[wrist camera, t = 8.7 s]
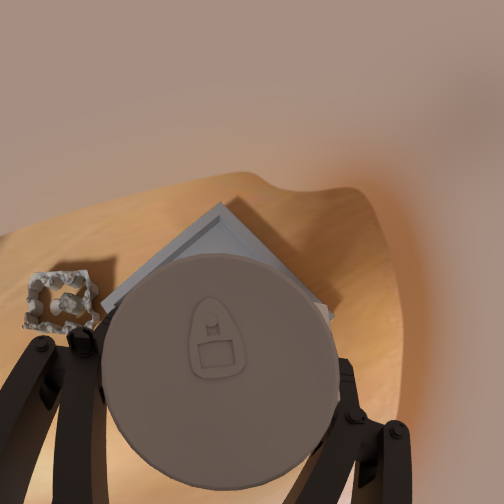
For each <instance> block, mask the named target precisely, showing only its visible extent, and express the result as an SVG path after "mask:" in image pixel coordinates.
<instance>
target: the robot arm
mask: <svg viewBox="0 0 504 504" xmlns="http://www.w3.org/2000/svg"><path fill="white" fill-rule="evenodd" d="M314 303H315V305H316V306H317V307H318V309H319V310H320V311H321V313H322V315H323V317H324V319H325V321H326V323H327V325H328V327H329V329H330V331H331V326H330V320H329V314H328V308H327V305H326V304H321V303H316V302H314ZM118 308H119V306H117V307H116V308H114V309H112V310H111V311H110V312H109V313H108V314H107V316H106V318H104V319H103V320H102V322H101V323H100V324H99V325H98V327H97V328H96V329H95V330H94V331H93V330H91V329H90V328H87V327H77V328H74V329H72V330H71V331H69V332H68V334H67V336H66V337H67V340H68V344H69V347H64V346H57V345H56V344H55V341H54V340H53V339H52V338H51V337H49V336H45V335H42V336H38V337H36V338H34V339H33V340H32V341H31V342H30V343H29V345H28V346H27V348H26V349H25V351H24V352H23V354H22V356H21V357H20V359H19V360H18V362H17V363H16V365H15V366H14V368H13V370H12V371H11V373H10V375H9V376H8V378H7V380H6V381H5V383H4V385H3V386H2V388H1V390H0V504H23V503H24V499H25V496H26V492H27V489H28V486H29V483H30V480H31V476H32V473H33V470H34V468H35V465H36V462H37V459H38V456H39V454H40V451H41V448H42V445H43V443H44V440H45V438H46V435H47V433H48V430H49V428H50V425H51V423H52V420H53V418H54V416H55V413H56V411H57V409H58V406H59V404H60V406H59V413H58V421H57V429H56V438H55V449H54V464H53V500H52V504H109V497H108V484H107V463H106V414H107V402H106V398H105V394H104V390H103V385H102V366H101V361H102V354H103V347H104V341H105V337H106V334H107V331H108V329H109V326H110V323H111V320H112V318H113V316H114V314H115V313H116V311H117V309H118ZM338 362H339V374H340V383H339V391H338V399H337V404H336V408H335V411H334V414H333V416H332V419H331V422H330V425H329V427H328V429H327V430H326V432H325V434H324V435H323V437H322V439H321V440H320V442H319V444H318V445H317V446H316V448H315V449H314V450H313V451H312V452H311V454H310V456H309V458H308V460H307V462H306V464H305V466H304V467H303V469H302V471H301V473H300V475H299V476H298V478H297V480H296V482H295V483H294V485H293V487H292V489H291V490H290V492H289V494H288V495H287V497H286V499H285V500H284V502H283V503H282V504H337V502H338V500H339V498H340V496H341V493H342V491H343V489H344V486H345V484H346V482H347V479H348V477H349V474H350V472H351V469H352V467H353V464H354V461H355V471H354V481H353V490H352V498H351V504H412V464H411V446H410V433H409V430H408V428H407V426H406V425H405V424H404V423H402V422H400V421H397V420H391V421H389V422H387V423H386V424H385V425H383V424H381V423H378V422H375V421H372V420H370V419H368V417H367V415H366V413H365V412H364V411H363V410H362V409H361V408H360V406H359V400H358V394H357V388H356V383H355V377H354V371H353V367H352V365H351V364H350V362H349V361H348V359H344V358H338Z"/></svg>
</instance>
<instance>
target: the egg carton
mask: <svg viewBox="0 0 504 504" xmlns="http://www.w3.org/2000/svg"><path fill="white" fill-rule="evenodd" d="M85 279H86V287H87V288H88V289H87V290H85V295H84V297H83V298H82V299H81V298H80V297H78V296H76V295H74V294H72V293H64V294H63V295H62V296H61V298H60V300H58V299H54V300H53V301H52V302H51V304H50V312H51V314H52V315H53V316H58V315H60V314H61V313H62V311H65V312H68V313H71V314H74V315H79V314H81V313H82V312H83V310H84V306H85V308H86V309H88V313H90V314H92V320H90V321H87V322H86V324H85V325H84V327H87V328H90V329H91V330H93V327H94V325H95V324H96V323H98V322H100V314H99V313H96V312H94V311H93V309H92V307H91V303H92V300H93V298H94V297H95V296H97V295H99V286H97V285H95V284H94V283H92V281H91V278H90V277H89V276H88V272H87V270H77V271H52V272H37V273H34V274H33V275H32V276H31V278H30V279H29V285H28V288H27V289H28V297H27V302H28V303H29V312H27V313H25V316H24V322H25V323H24V326H23V325H22V328H23V329H31V330H36V331H37V332H39V333H50V332H51V333H58V334H68V332H69V331H71V330H72V329H74V328H77V327H83V326H82V325H81V324H78V323H75V322H72V321H68V320H66V321H65V325H64V326H63V327H61V326H60V325H57V324H54V323H50V322H45V321H43V322H42V323H40V324H38V317H40V316H42V314H43V312H44V305H43V303H42V302H41V301H40V300H38V295H39V292H41V291H42V290H43V288H44V286H46V287H48V288H50V289H52V290H55V291H58V290H59V289H60V288H61V287H62V285H63V283H64V284H67V285H69V286H71V287H73V288H75V289H77V288H80V287H81V286H82V285H83V283H84V280H85Z"/></svg>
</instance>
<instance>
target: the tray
mask: <svg viewBox="0 0 504 504" xmlns="http://www.w3.org/2000/svg"><path fill="white" fill-rule="evenodd" d="M209 253H226V254H233V255H239V256H245V257H248V258H251V259H254V260H257V261H259V262H262V263H265V264H268V265H269V266H271V267H273V268H274V269H276V270H278V271H279V272H281V273H283V274H285V275H286V276H288V277H289V278H290V279H291V280H292V281H294V282H295V283H296V284H297V285H298V286H299V287H300V288H302V289H303V290H304V291H305V292H306V293H307V294H308V296H309V297H310V298H311V300H312V301H313V302H316V303H321V304H323V303H322V302H321V301H320V300H319V299H318V298H317V297H316V296H315V295H314V294H313V293H312V292H311V291H310V290H309V289H308V288H307V287H306V286H305V285H304V284H303V283H302V282H301V281H300V280H299V279H298V278H297V277H296V276H295V275H294V274H293V273H292V272H291V271H290V270H289V269H288V268H287V267H286V266H285V265H284V264H283V263H282V262H281V261H280V260H279V259H278V258H277V257H276V256H275V255H274V254H273V253H272V252H271V251H270V250H269V249H268V248H267V247H266V246H265V245H264V244H263V243H262V242H261V241H260V240H259V239H258V238H257V237H256V236H255V235H254V234H253V233H252V232H251V231H250V230H249V229H248V228H247V227H246V226H245V225H244V224H243V223H242V222H241V221H240V220H239V219H238V218H237V217H236V216H235V215H234V214H233V213H232V212H231V211H230V210H229V209H228V208H227V207H226V206H225V205H224V204H222V203H221V202H220V203H218V204H217V205H216V206H215V207H213V208H212V209H211V210H210V211H208V212H207V213H206V214H204V215H203V216H202V217H201V218H199V219H198V220H197V221H196V222H194V223H193V224H192V225H191V226H189V227H188V228H187V229H186V230H185V231H183V232H182V233H181V234H180V235H178V236H177V237H176V238H175V239H174V240H172V241H171V242H170V243H169V244H168V245H166V246H165V247H164V248H163V249H162V250H160V251H159V252H158V253H157V254H156V255H154V256H153V257H152V258H151V259H150V260H149V261H147V262H146V263H145V264H144V265H143V266H142V267H140V268H139V269H138V270H137V271H136V272H135V273H133V274H132V275H131V276H130V277H129V278H128V279H127V280H126V281H124V282H123V283H122V284H121V285H120V286H119V287H118V288H117V289H115V290H114V291H113V292H112V293H111V294H110V295H109V296H108V297H107V298H105V299H104V300H103V301H102V302H101V303H100V304H101V305H102V307H103V308H104V310H105V311H106V313H107V314H108V313H109V312H110V311H111V310H112V309H114V308H116V307H117V306H120V304H121V303H122V301H123V299H124V298H125V297H126V296H127V295H128V294H129V292H130V291H131V290H132V289H133V288H134V287H135V286H136V285H137V284H138V283H139V282H140V281H141V280H142V279H144V278H145V277H146V276H148V275H149V274H151V273H152V272H153V271H155V270H156V269H157V268H160V267H162V266H164V265H166V264H168V263H170V262H173V261H175V260H177V259H180V258H185V257H189V256H193V255H197V254H209ZM328 314H329V320H330V321H331V320H332V319H333V318H334V316H335V315H334V314H333V313H332V312H331V311H330V310H329V309H328Z"/></svg>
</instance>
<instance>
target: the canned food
mask: <svg viewBox="0 0 504 504" xmlns="http://www.w3.org/2000/svg"><path fill="white" fill-rule="evenodd" d="M101 366H102V385H103V390H104V394H105V398H106V402H107V406H108V409H109V411H110V413H111V416H112V418H113V420H114V422H115V424H116V426H117V428H118V430H119V432H120V433H121V434H122V436H123V437H124V439H125V440H126V441H127V443H128V444H129V445H130V447H131V448H132V449H133V450H134V451H135V452H136V453H137V454H138V455H139V456H140V457H141V458H142V459H143V460H144V461H146V462H147V463H148V464H149V465H150V466H152V467H153V468H155V469H156V470H158V471H159V472H161V473H163V474H164V475H166V476H168V477H169V478H171V479H174V480H176V481H179V482H181V483H184V484H187V485H189V486H192V487H197V488H203V489H208V490H214V491H230V490H243V489H247V488H252V487H256V486H261V485H264V484H266V483H268V482H270V481H273V480H275V479H277V478H279V477H281V476H284V475H285V474H286V473H288V472H289V471H291V470H292V469H293V468H295V467H296V466H298V465H299V464H300V463H302V462H303V461H304V460H305V459H306V457H307V456H308V455H309V454H310V453H311V452H312V451H313V450H314V449H315V448H316V446H317V445H318V444H319V442H320V440H321V439H322V437H323V435H324V434H325V432H326V430H327V429H328V427H329V425H330V422H331V419H332V416H333V414H334V411H335V408H336V404H337V399H338V391H339V383H340V374H339V362H338V354H337V350H336V347H335V343H334V340H333V336H332V333H331V331H330V329H329V327H328V325H327V323H326V321H325V319H324V317H323V315H322V313H321V311H320V310H319V309H318V307H317V306H316V305H315V303H314V302H313V301H312V300H311V298H310V297H309V296H308V294H307V293H306V292H305V291H304V290H303V289H302V288H300V287H299V286H298V285H297V284H296V283H295V282H294V281H292V280H291V279H290V278H289V277H288V276H286V275H285V274H283V273H281V272H279V271H278V270H276V269H274V268H273V267H271V266H269V265H268V264H265V263H262V262H259V261H257V260H254V259H251V258H248V257H245V256H239V255H233V254H226V253H209V254H197V255H193V256H189V257H185V258H180V259H177V260H175V261H173V262H170V263H168V264H166V265H164V266H162V267H160V268H157V269H156V270H155V271H153V272H152V273H151V274H149V275H148V276H146V277H145V278H144V279H142V280H141V281H140V282H139V283H138V284H137V285H136V286H135V287H134V288H133V289H132V290H131V291H130V292H129V294H128V295H127V296H126V297H125V298H124V299H123V301H122V303H121V304H120V306H119V308H118V309H117V311H116V313H115V314H114V316H113V318H112V320H111V323H110V326H109V329H108V331H107V334H106V337H105V341H104V347H103V354H102V361H101Z"/></svg>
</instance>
